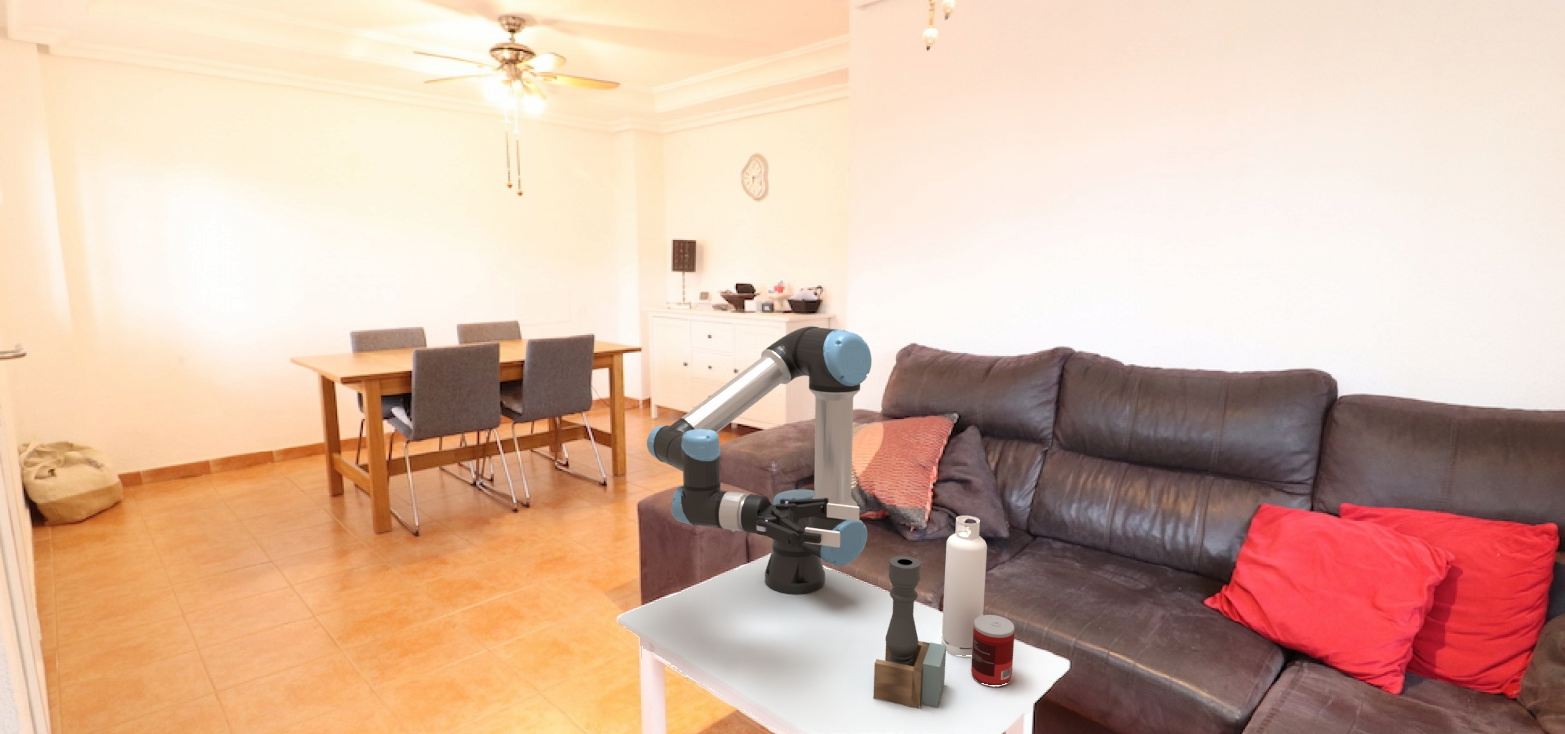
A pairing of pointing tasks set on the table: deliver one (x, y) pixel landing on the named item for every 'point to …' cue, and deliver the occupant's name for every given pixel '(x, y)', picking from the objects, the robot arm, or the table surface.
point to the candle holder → (903, 609)
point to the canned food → (992, 649)
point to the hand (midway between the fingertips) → (849, 526)
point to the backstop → (933, 675)
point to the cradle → (900, 679)
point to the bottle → (963, 586)
